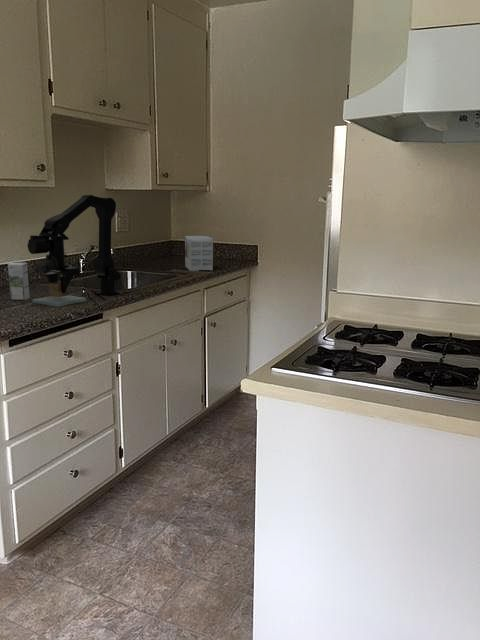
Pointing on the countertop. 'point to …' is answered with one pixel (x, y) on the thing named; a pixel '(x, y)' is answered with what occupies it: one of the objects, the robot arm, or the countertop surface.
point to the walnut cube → (56, 290)
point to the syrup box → (18, 280)
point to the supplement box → (198, 253)
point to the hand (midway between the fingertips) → (59, 292)
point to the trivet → (59, 300)
